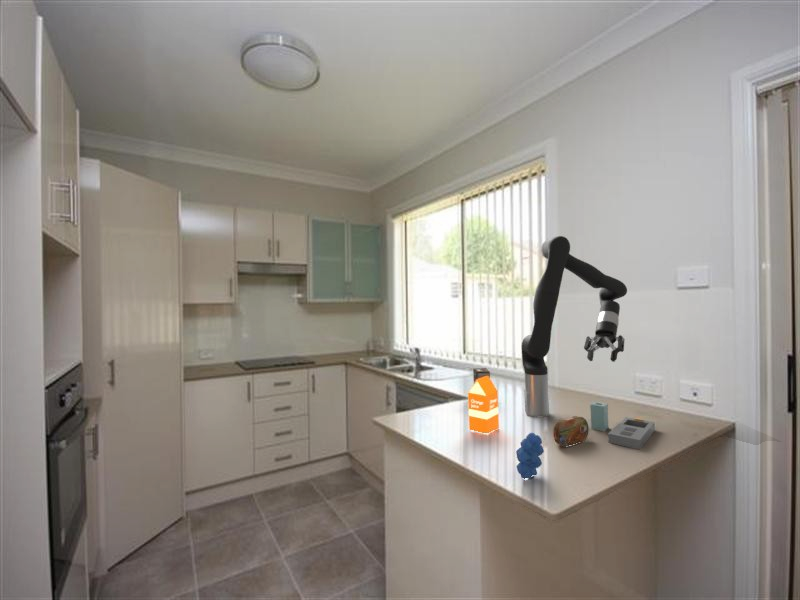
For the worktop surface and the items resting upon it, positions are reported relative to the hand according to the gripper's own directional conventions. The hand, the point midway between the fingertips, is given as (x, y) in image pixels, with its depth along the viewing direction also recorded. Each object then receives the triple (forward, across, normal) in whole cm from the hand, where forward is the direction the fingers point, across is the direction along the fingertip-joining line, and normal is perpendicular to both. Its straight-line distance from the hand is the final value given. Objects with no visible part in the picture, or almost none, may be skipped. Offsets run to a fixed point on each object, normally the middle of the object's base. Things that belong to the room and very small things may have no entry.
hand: (601, 360), depth 143 cm
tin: (+37, +1, -12) cm, 39 cm away
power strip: (+26, +12, +6) cm, 29 cm away
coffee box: (+25, -49, -2) cm, 55 cm away
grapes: (+54, +5, -37) cm, 66 cm away
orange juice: (+41, -26, -23) cm, 54 cm away
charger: (+25, +1, +5) cm, 26 cm away
